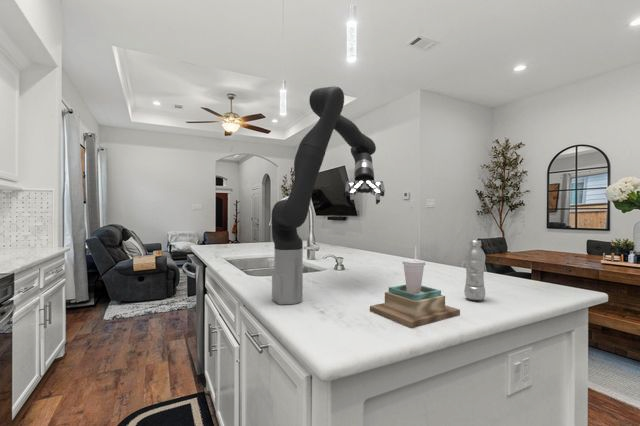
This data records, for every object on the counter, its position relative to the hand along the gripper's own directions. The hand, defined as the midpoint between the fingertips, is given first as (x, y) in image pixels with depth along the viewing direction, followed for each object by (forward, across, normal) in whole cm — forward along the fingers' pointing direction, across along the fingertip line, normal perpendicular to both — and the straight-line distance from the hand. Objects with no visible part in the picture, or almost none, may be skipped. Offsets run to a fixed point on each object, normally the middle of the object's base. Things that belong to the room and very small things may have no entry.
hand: (365, 202), depth 114 cm
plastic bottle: (+26, +36, +21) cm, 49 cm away
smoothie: (+33, +13, +6) cm, 36 cm away
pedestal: (+37, +14, +9) cm, 40 cm away
